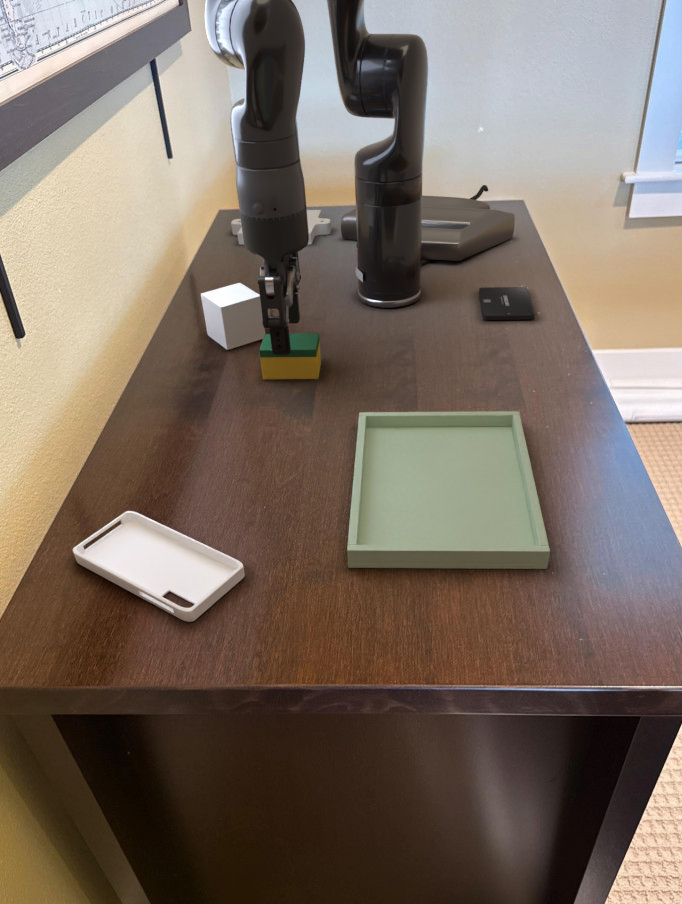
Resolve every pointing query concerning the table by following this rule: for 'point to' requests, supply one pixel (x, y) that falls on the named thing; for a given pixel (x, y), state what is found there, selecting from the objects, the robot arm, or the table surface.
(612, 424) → the table surface
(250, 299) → the white cube
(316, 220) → the mounting plate
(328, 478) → the table surface
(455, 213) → the grey contoured platform
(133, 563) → the phone case
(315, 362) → the sponge
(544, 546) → the tray
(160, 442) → the table surface
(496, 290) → the solid state drive
